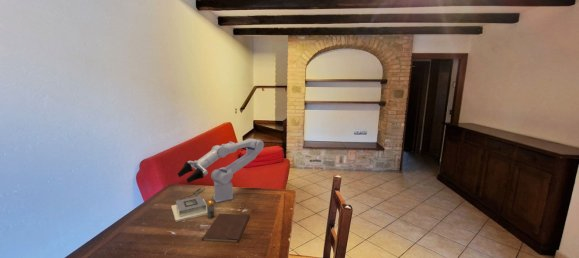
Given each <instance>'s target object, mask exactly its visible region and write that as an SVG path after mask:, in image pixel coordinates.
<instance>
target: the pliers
mask: <svg viewBox="0 0 579 258" xmlns="http://www.w3.org/2000/svg"><path fill="white" fill-rule="evenodd" d="M205 190H206V188H205V187H204V188H202V189H201V187H199V188H198V189H196V190H195V191H193V192H192V193H190V194H187V195H184V196H182V197H180V198H178V199H177V200H176V201H178V200H183V199H186V198H187V197H188V198H189V197H190V196H193V195H194V197H197V196H199V194H201V193H202V192H204V191H205Z"/></svg>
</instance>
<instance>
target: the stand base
mask: <svg viewBox="0 0 579 258" xmlns="http://www.w3.org/2000/svg"><path fill="white" fill-rule="evenodd" d="M202 199H203V201H204V203H205V204H206V211H203V212H199V213H195V214H191V215H187V216H182V217H180V216H179V213H178V211H177V208H176V204H173V205H171V210H172V214H173V215H172V216H173V218H174V221H175V223H178V222H182V221H186V220H189V219H190V220H191V219H195V218H199V217H202V216H206V215H207V216H208V214H207V201H205V199H204V198H202Z"/></svg>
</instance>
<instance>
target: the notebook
mask: <svg viewBox="0 0 579 258" xmlns="http://www.w3.org/2000/svg"><path fill="white" fill-rule="evenodd" d="M249 219H250V214H245V213H241V214H237V213H235V214H234V213H218V215H217V216H216V218H215V219H214V220H213V222H212V224H210V226H209V228H208V229H207V230H206V232H205V234H203V236H202V238H201V241H208V242H210V241H211V242H212V241H213V242H227V243H239V242H240V239H241V237H242V235H243V233H244V230H245V228H246V226H247V224H248V222H249Z"/></svg>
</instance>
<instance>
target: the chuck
mask: <svg viewBox="0 0 579 258" xmlns="http://www.w3.org/2000/svg"><path fill="white" fill-rule="evenodd" d="M203 199H204V198H203V197H202V196H201V195H197V197H195V196H194V197H188V198H182V199H180V200H178V199H177V200H178V201H177V200H175V205H176V208H177V211H178V213H179V216H180V217H182V216H187V215H191V214H195V213H199V212H203V211H206V204H205V203H204V201H203Z"/></svg>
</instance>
